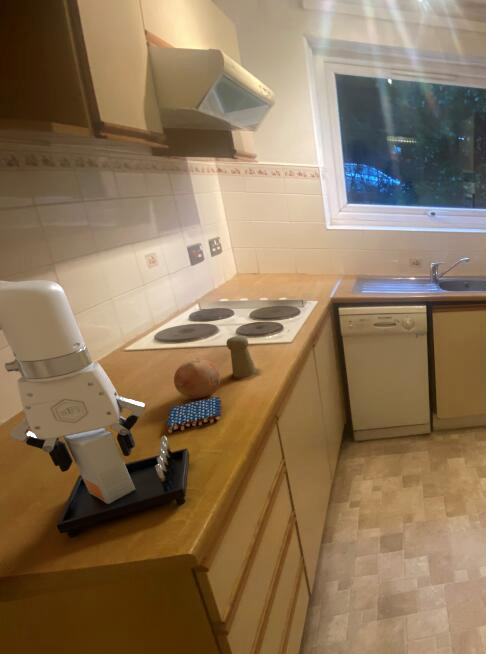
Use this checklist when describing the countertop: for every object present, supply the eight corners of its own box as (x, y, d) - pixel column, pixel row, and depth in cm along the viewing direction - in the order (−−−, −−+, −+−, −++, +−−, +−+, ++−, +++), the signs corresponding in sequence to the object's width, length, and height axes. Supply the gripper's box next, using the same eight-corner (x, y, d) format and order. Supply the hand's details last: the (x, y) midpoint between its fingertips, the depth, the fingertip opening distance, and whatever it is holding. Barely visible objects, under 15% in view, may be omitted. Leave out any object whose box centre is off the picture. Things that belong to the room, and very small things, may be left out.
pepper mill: (240, 379, 121) (231, 342, 117) (228, 374, 124) (218, 338, 120) (261, 371, 126) (253, 336, 122) (249, 367, 129) (240, 332, 125)
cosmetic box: (88, 494, 75) (61, 435, 70) (118, 480, 78) (94, 423, 74) (107, 505, 72) (80, 445, 68) (136, 490, 76) (113, 431, 71)
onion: (188, 389, 116) (177, 354, 112) (230, 385, 118) (221, 351, 114) (172, 406, 107) (159, 370, 103) (217, 402, 109) (206, 366, 105)
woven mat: (170, 413, 104) (167, 406, 103) (222, 402, 109) (219, 395, 108) (166, 434, 96) (163, 426, 95) (222, 420, 101) (220, 413, 100)
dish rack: (64, 541, 68) (43, 501, 65) (85, 490, 79) (68, 453, 76) (187, 503, 76) (174, 466, 73) (191, 461, 87) (180, 427, 84)
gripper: (-39, 386, 59) (18, 490, 66) (126, 359, 67) (161, 454, 74) (-16, 366, 65) (34, 464, 71) (133, 344, 73) (165, 433, 80)
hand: (98, 458), depth 73 cm, fingers open, 7 cm apart
